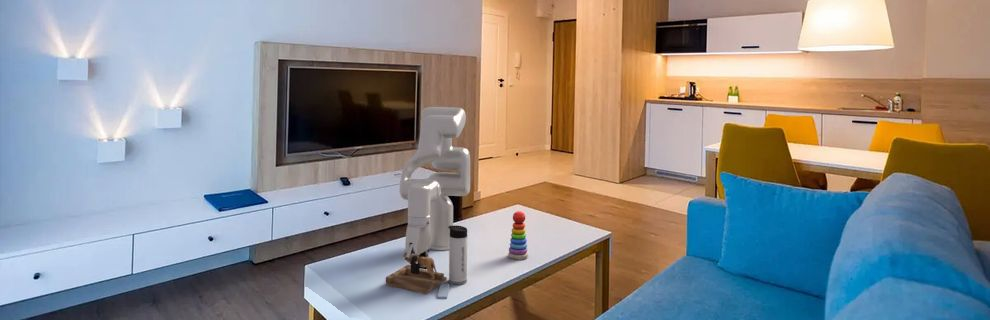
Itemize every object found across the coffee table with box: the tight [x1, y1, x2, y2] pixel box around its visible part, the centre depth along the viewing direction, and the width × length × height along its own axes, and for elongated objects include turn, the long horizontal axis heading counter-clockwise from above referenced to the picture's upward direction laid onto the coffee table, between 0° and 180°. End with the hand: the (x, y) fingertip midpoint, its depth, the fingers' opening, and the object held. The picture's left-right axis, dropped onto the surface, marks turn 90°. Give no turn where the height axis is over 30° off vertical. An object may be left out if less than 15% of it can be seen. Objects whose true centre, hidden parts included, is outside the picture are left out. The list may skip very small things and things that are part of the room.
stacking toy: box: [507, 210, 529, 260], centre depth 213 cm, size 8×8×19 cm
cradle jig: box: [385, 264, 447, 295], centre depth 186 cm, size 14×16×3 cm
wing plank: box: [437, 283, 451, 300], centre depth 178 cm, size 10×3×1 cm, turn 0°
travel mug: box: [448, 225, 468, 286], centre depth 186 cm, size 6×7×20 cm
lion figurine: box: [402, 251, 442, 280], centre depth 183 cm, size 15×5×9 cm, turn 67°
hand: (419, 270), depth 185 cm, fingers closed on lion figurine, 4 cm apart
